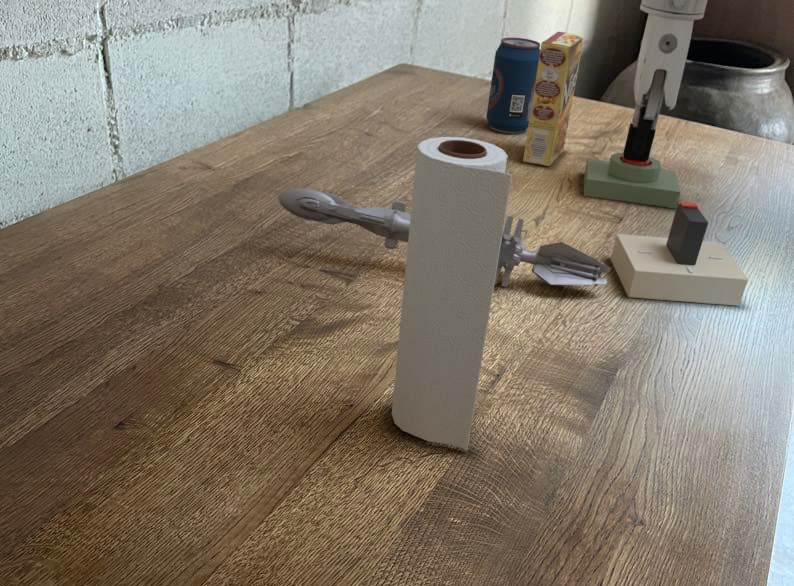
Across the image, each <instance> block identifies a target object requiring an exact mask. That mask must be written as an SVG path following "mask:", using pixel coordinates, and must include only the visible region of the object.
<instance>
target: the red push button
mask: <svg viewBox="0 0 794 586" xmlns="http://www.w3.org/2000/svg"><path fill="white" fill-rule="evenodd" d="M622 161H623V162H625V163H628V164H631V165H637V166H649V163H650V160H649V159H648V161H646V162H643V161H636V160H629V159H625V158H624V156H623V157H622Z"/></svg>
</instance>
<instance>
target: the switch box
mask: <svg viewBox="0 0 794 586" xmlns="http://www.w3.org/2000/svg"><path fill="white" fill-rule="evenodd" d="M623 156H624V154H623V152H616V153H613V154H611V155H610V159H609V160H603V159H597V158H596V159H595V158H588V157H587V160H586V162H585V163H586V165H585V168H584V173H583V196H584V197H591V198H597V199H605V200H612V201H618V202H626V203H633V204H640V205H647V206H653V207H661V208H669V209H674V210H676V208H677V205H678V203H679V198H680V194H681V189H680V185H679V181H678V175H677V170H675V169H667V168H661V167H662V165H661V161H659V160H658V159H656V158H655V157H652V156H649V158H648V159H649V160H650V163H649V166H637V165H631V164H628V163H625V162H623V161H622V157H623Z"/></svg>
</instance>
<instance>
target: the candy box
mask: <svg viewBox="0 0 794 586" xmlns="http://www.w3.org/2000/svg"><path fill="white" fill-rule="evenodd" d="M584 41H585V35H583V34H582V35H581V34H576V33H570V32H564V31H557V32H555V33H554V34H552V35H551V36H549V38H547V39H545V40H543V41H541V43H540V55H539V62H538V68H537V74H536V81H535V87H534V94H533V101H532V107H531V113H530V120H529V126H528V128H527V133H526V139H525V146H524V152H523V153H524V154H523V158H522V162H524V163H528V164H535V165H540V166H545V167H550V166H551V165H552V164H553V163H554V161H556V160H557V159H558V158H559V156H560V155H561V154H562V153H563V152H564V150H565V144H566V139H567V134H568V133H567V132H568V128H569V122H570V117H571V111H572V106H573V100H574V94H575V88H576V83H577V80H578V79H577V78H578V72H579V67H580V63H581V62H580V61H581V57H582V52H583V45H584Z"/></svg>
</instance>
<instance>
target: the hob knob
mask: <svg viewBox="0 0 794 586" xmlns="http://www.w3.org/2000/svg"><path fill="white" fill-rule="evenodd" d="M708 225H709V221H708V220H707V218H706V216H705V215H704V214H703V213H702V211H701V210H700V209H699V206H698V204H697V203H695V202H687V201H686V202H685V201H684V202H683V201H680V202H679V203H677V206H676V208H675V213H674V217H673V221H672V223H671V225H670V226H671V227H670V231H669V234H668V237H667V238H668V240H667V244H666V246H667V247H668V249H669V251H670V252H671V254H672V256H673V257H674V259H675V261H676V262H677V264H689V265H695V264H696V261H697V258H698V255H699V251H700V248H701V245H702V242H703V241H704V239H705V235H706V231H707V230H708Z"/></svg>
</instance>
